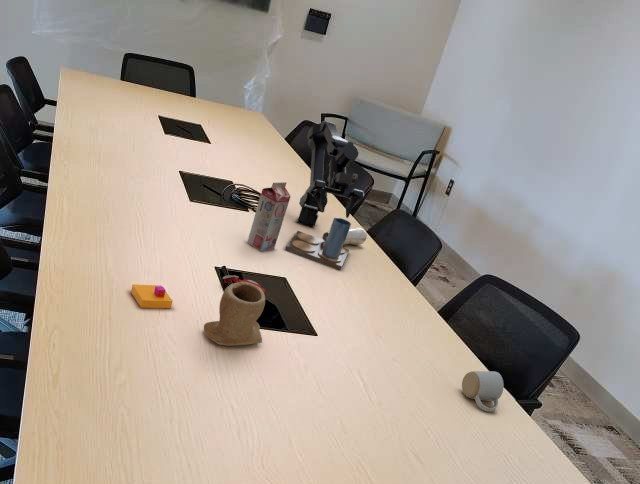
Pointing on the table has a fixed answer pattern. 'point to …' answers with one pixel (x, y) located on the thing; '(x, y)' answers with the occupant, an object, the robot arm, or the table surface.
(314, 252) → the coaster board
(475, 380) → the ceramic mug
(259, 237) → the juice carton
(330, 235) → the tumbler
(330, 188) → the robot arm
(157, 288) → the orange tile with cube
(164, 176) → the table surface
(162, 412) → the table surface
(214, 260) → the table surface
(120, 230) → the table surface
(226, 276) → the tracker holder
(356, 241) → the silver metal bottle
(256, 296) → the stone cup
